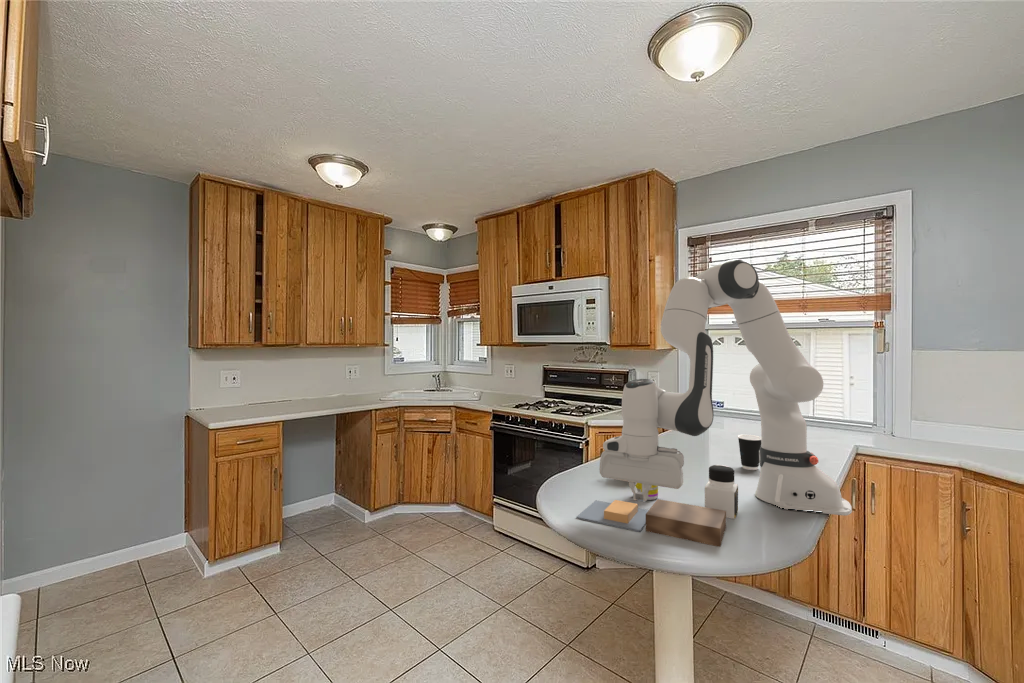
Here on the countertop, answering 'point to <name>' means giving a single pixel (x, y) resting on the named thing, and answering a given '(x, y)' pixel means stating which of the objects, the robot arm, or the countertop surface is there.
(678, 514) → the wooden block
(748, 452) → the dixie cup
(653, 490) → the supplement bottle
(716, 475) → the medicine bottle
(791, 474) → the robot arm
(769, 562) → the countertop surface
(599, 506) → the mat
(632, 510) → the tile
